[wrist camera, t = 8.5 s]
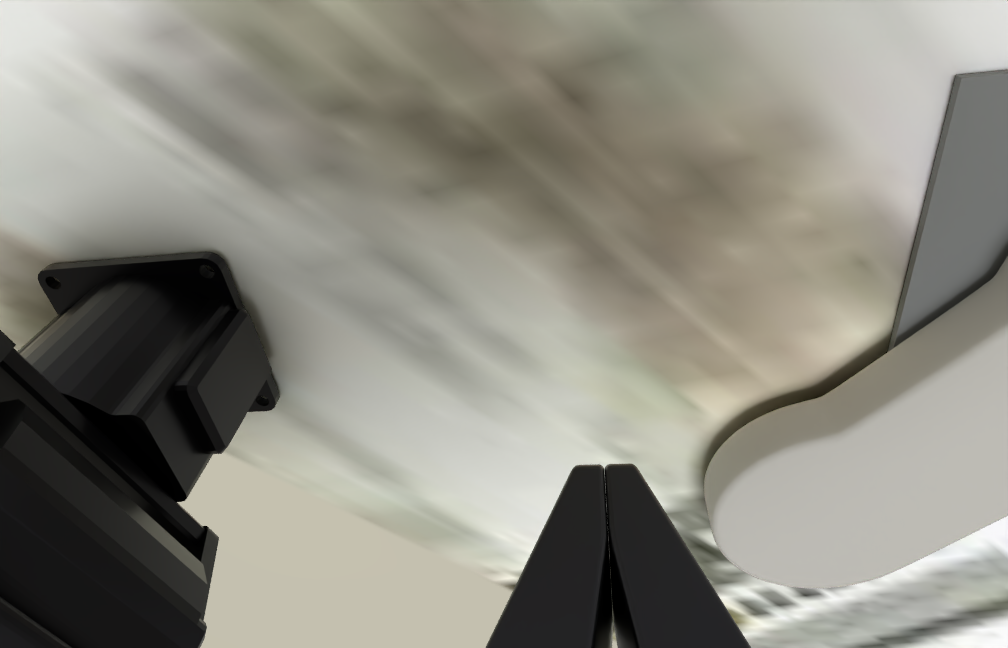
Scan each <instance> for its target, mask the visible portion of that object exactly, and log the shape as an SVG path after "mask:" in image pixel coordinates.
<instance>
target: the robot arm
mask: <svg viewBox="0 0 1008 648" xmlns="http://www.w3.org/2000/svg"><path fill="white" fill-rule="evenodd" d="M205 265H208V266H210V267H211V268H212V269H213V270H214V272H211V271H209V270H207V268H206V267H205ZM55 278H56V279H58V280H59V282H58V281H57V280H56V279H55ZM38 281H39V283H40V285H41V287H42V288H43V290H44V292H45V294H46V295H47V297H48V299H49V300H50V302H51V304H52V305H53V307H54V309H55V310H56V312H57V314H58V316H57V317H56V318H54V319H53V320H52V321H51V322H50V323H49V324H48V325H47V326H45V327H44V328H43V329H42V330H41V331H40V332H39V333H38V334H37V335H35V336H34V337H33V338H32V339H31V340H30V341H29V342H28V343H26V344H25V345H24V346H23V347H22V348H21V349H20V350H19V351H18V352H17V351H16V350H15V349H14V346H15V345H16V344H15V343H13V342H12V341H11V340H10V339H9V338H8V337H7V336H6V335H5V334H4V333H3V332H2V331H1V330H0V648H200V647H201V644H202V643H203V640H204V638H205V633H206V628H207V626H206V623H205V622H204V621H203V620H204V615H205V609H206V604H207V599H208V594H209V588H210V583H211V577H212V572H213V567H214V562H215V556H216V551H217V546H218V540H219V537H218V536H217V535H216V534H215V533H214V532H213V531H212V530H210V529H209V528H208V527H207V526H201V525H200V524H199V523H198V522H197V521H196V520H195V519H194V518H193V517H192V516H191V515H190V514H189V513H188V512H186V511H185V509H183V508H182V507H181V506H180V505H179V504H178V503H177V502H182V501H185V499H186V498H187V497H188V495H189V494H190V492H191V490H192V488H193V487H194V485H195V483H196V482H197V480H198V478H199V477H200V475H201V473H202V472H203V470H204V468H205V467H206V465H207V463H208V462H209V460H210V458H211V456H212V455H213V454H222V453H223V452H224V450H225V449H226V448H227V447H228V445H229V443H230V442H231V440H232V438H233V436H234V435H235V433H236V431H237V429H238V428H239V426H240V424H241V422H242V421H243V419H244V417H245V416H246V414H247V412H255V411H269V410H272V409H273V408H274V407H275V405H276V404H277V402H278V400H279V392H278V390H277V387H276V385H275V382H274V380H273V377H272V375H271V373H270V372H271V367H270V364H269V362H268V359H267V357H266V354H265V352H264V349H263V347H262V345H261V342H260V340H259V337H258V335H257V332H256V330H255V327H254V325H253V322H252V320H251V317H250V315H249V314H248V313H247V312H246V311H245V309H244V306H243V304H242V301H241V299H240V296H239V294H238V292H237V289H236V287H235V284H234V282H233V279H232V277H231V274H230V272H229V269H228V267H227V265H226V263H225V261H224V260H223V259H222V258H221V257H220V256H219V255H217V254H214V253H210V252H202V253H189V254H176V255H163V256H150V257H137V258H124V259H111V260H98V261H85V262H72V263H59V264H51V265H49V266H47V267H46V268H45V269H43V270H42V271H41V272H40V273H39V274H38ZM262 396H264V397H266V398H267V399H265V398H263V397H262ZM605 486H606V491H605ZM606 504H607V507H606ZM607 521H608V524H607ZM608 538H609V541H608ZM609 555H610V559H609ZM610 571H611V576H610ZM611 588H612V594H611ZM612 605H613V616H612ZM613 617H614V627H615V633H616V640H617V646H618V648H751V647H750V645H749V643H748V642H747V640H746V639H745V637H744V636H743V634H742V632H741V631H740V629H739V628H738V626H737V625H736V623H735V621H734V620H733V618H732V617H731V615H730V613H729V612H728V610H727V609H726V607H725V606H724V604H723V602H722V601H721V599H720V598H719V596H718V595H717V593H716V591H715V590H714V588H713V587H712V585H711V583H710V582H709V580H708V579H707V577H706V576H705V574H704V572H703V571H702V569H701V568H700V566H699V565H698V563H697V561H696V560H695V558H694V557H693V555H692V553H691V552H690V550H689V549H688V547H687V546H686V544H685V542H684V541H683V539H682V538H681V536H680V535H679V533H678V531H677V530H676V528H675V527H674V525H673V524H672V522H671V520H670V519H669V517H668V516H667V514H666V512H665V511H664V509H663V508H662V506H661V505H660V503H659V501H658V500H657V498H656V497H655V495H654V494H653V492H652V490H651V489H650V487H649V486H648V484H647V482H646V481H645V479H644V478H643V476H642V475H641V473H640V471H639V470H638V468H637V467H636V466H635V465H633V464H609V465H607V466H606V467H605V475H604V468H603V466H601V465H577V466H575V467H574V468H573V469H572V471H571V473H570V475H569V477H568V479H567V481H566V483H565V485H564V487H563V489H562V491H561V493H560V495H559V497H558V499H557V501H556V503H555V506H554V508H553V510H552V512H551V514H550V516H549V518H548V520H547V522H546V524H545V526H544V528H543V530H542V532H541V534H540V536H539V539H538V541H537V543H536V545H535V547H534V549H533V551H532V553H531V555H530V557H529V559H528V561H527V563H526V565H525V567H524V569H523V572H522V574H521V576H520V578H519V580H518V582H517V584H516V586H515V588H514V590H513V592H512V594H511V596H510V598H509V600H508V602H507V605H506V607H505V609H504V611H503V613H502V615H501V617H500V619H499V621H498V624H497V625H496V627H495V629H494V632H493V633H492V635H491V638H490V640H489V642H488V644H487V646H486V648H612V634H613Z"/></svg>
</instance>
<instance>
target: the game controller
mask: <svg viewBox="0 0 1008 648" xmlns="http://www.w3.org/2000/svg"><path fill="white" fill-rule="evenodd" d="M704 496H705V501H706V506H707V511H708V516H709V521H710V525H711V530H712V533H713V536H714V539H715V542H716V544H717V546H718V547H719V549H720V551H721V552H722V553H723V555H724V556H725V557H726V558H727V559H728V560H729V561H730V562H731V563H732V564H734V565H735V566H736V567H738V568H739V569H741V570H742V571H744V572H746V573H748V574H749V575H751V576H754V577H756V578H758V579H761V580H764V581H767V582H770V583H774V584H778V585H783V586H789V587H797V588H833V587H842V586H848V585H853V584H858V583H863V582H866V581H870V580H873V579H876V578H880V577H882V576H885V575H887V574H890V573H892V572H895V571H897V570H899V569H901V568H903V567H905V566H907V565H909V564H911V563H913V562H915V561H918V560H920V559H922V558H924V557H926V556H928V555H930V554H932V553H934V552H936V551H938V550H940V549H942V548H944V547H946V546H948V545H950V544H952V543H954V542H956V541H958V540H960V539H962V538H964V537H966V536H968V535H970V534H972V533H974V532H976V531H978V530H980V529H982V528H984V527H986V526H988V525H990V524H992V523H994V522H996V521H998V520H1000V519H1002V518H1004V517H1006V516H1008V256H1007V258H1006V259H1005V261H1004V263H1003V264H1002V266H1001V267H1000V269H999V270H998V272H997V273H996V275H995V276H994V277H993V278H992V279H991V280H990V281H988V282H987V283H986V284H984V285H983V286H982V287H980V288H979V289H978V290H976V291H975V292H973V293H972V294H971V295H969V296H968V297H966V298H965V299H964V300H962V301H961V302H959V303H958V304H956V305H955V306H954V307H952V308H951V309H949V310H948V311H947V312H945V313H944V314H942V315H941V316H939V317H938V318H936V319H935V320H934V321H932V322H931V323H929V324H928V325H926V326H925V327H924V328H922V329H921V330H919V331H918V332H916V333H915V334H913V335H912V336H911V337H909V338H908V339H906V340H905V341H903V342H902V343H900V344H899V345H898V346H896V347H895V348H893V349H892V350H890V351H889V352H887V353H886V354H884V355H883V356H882V357H880V358H879V359H877V360H876V361H874V362H873V363H871V364H870V365H869V366H867V367H866V368H864V369H863V370H861V371H860V372H858V373H857V374H855V375H854V376H852V377H851V378H849V379H848V380H846V381H845V382H844V383H842V384H841V385H839V386H838V387H836V388H835V389H833V390H832V391H830V392H828V393H827V394H825V395H824V396H822V397H819V398H816V399H812V400H808V401H803V402H800V403H796V404H792V405H789V406H786V407H782V408H779V409H777V410H774V411H771V412H769V413H767V414H765V415H762V416H760V417H758V418H756V419H755V420H753V421H751V422H749V423H748V424H746V425H745V426H743V427H742V428H740V429H739V430H738V431H736V432H735V433H734V434H732V435H731V436H730V437H729V438H728V439H727V440H726V441H725V442H724V443H723V444H722V445H721V447H720V448H719V449H718V450H717V452H716V453H715V455H714V456H713V458H712V460H711V462H710V463H709V466H708V468H707V471H706V475H705V480H704Z"/></svg>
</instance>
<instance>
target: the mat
mask: <svg viewBox="0 0 1008 648" xmlns="http://www.w3.org/2000/svg"><path fill="white" fill-rule="evenodd" d="M1007 256H1008V70H1001V71H991V72H981V73H971V74H961V75H956V77H955V81H954V85H953V89H952V93H951V98H950V102H949V106H948V110H947V114H946V118H945V122H944V126H943V130H942V134H941V138H940V142H939V146H938V150H937V154H936V158H935V162H934V166H933V170H932V174H931V178H930V182H929V186H928V190H927V194H926V198H925V202H924V206H923V210H922V215H921V219H920V223H919V227H918V231H917V235H916V239H915V243H914V247H913V251H912V255H911V259H910V263H909V267H908V271H907V275H906V279H905V283H904V287H903V291H902V295H901V299H900V303H899V307H898V311H897V315H896V319H895V323H894V327H893V331H892V336H891V340H890V344H889V348H888V352H889V351H890V350H892V349H893V348H895V347H896V346H898V345H899V344H900V343H902V342H903V341H905V340H906V339H908V338H909V337H911V336H912V335H913V334H915V333H916V332H918V331H919V330H921V329H922V328H924V327H925V326H926V325H928V324H929V323H931V322H932V321H934V320H935V319H936V318H938V317H939V316H941V315H942V314H944V313H945V312H947V311H948V310H949V309H951V308H952V307H954V306H955V305H956V304H958V303H959V302H961V301H962V300H964V299H965V298H966V297H968V296H969V295H971V294H972V293H973V292H975V291H976V290H978V289H979V288H980V287H982V286H983V285H984V284H986V283H987V282H988V281H990V280H991V279H992V278H993V277H994V276H995V275H996V273H997V272H998V270H999V269H1000V267H1001V266H1002V264H1003V263H1004V261H1005V259H1006V258H1007Z"/></svg>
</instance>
